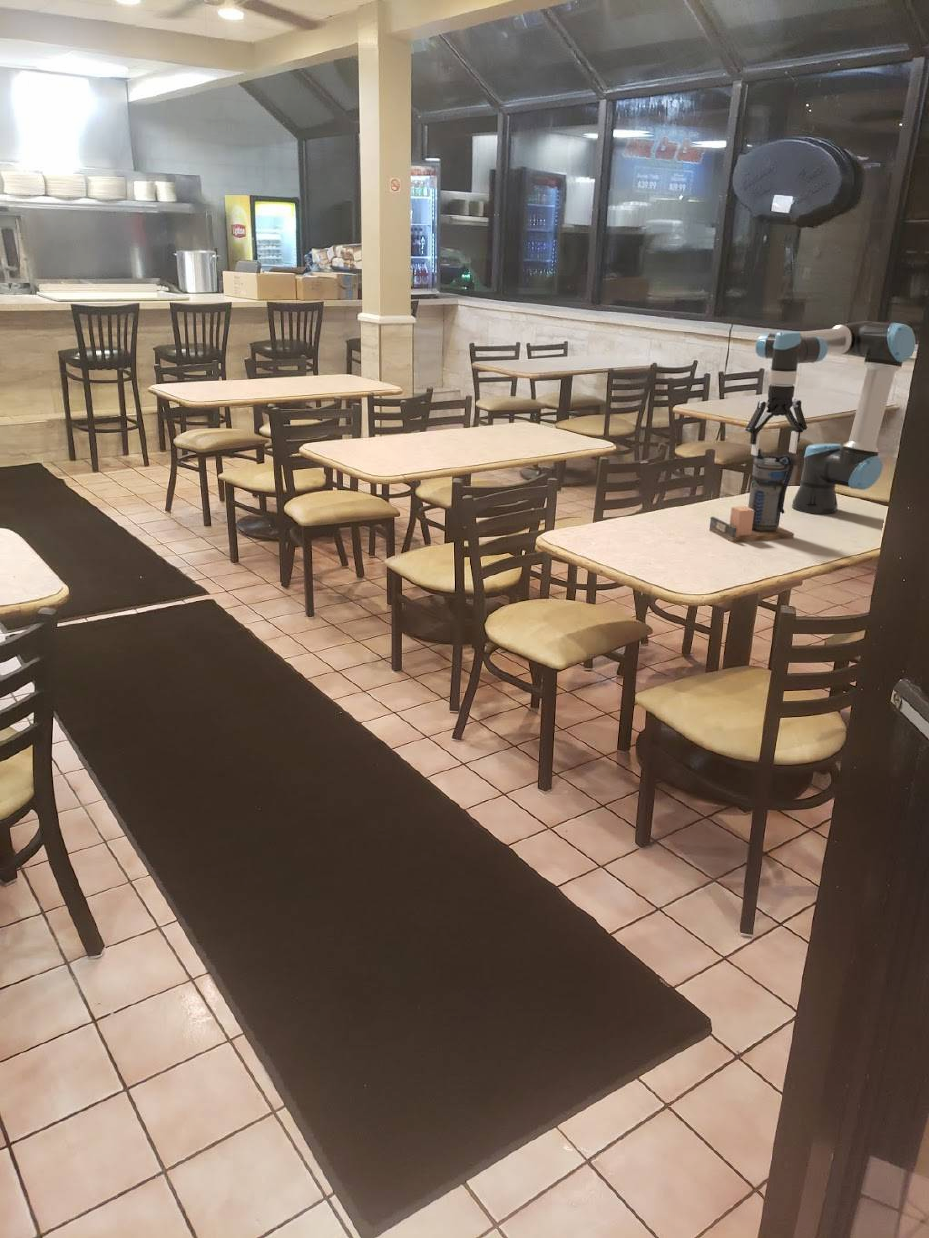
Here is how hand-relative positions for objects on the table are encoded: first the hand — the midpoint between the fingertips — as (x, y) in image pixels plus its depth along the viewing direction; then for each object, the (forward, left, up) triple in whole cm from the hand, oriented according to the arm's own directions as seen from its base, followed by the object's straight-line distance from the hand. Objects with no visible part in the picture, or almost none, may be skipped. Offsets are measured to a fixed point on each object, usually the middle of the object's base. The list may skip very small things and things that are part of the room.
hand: (773, 453), depth 298 cm
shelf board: (+4, 0, -26) cm, 26 cm away
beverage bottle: (0, 0, -25) cm, 25 cm away
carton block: (+10, +3, -24) cm, 27 cm away
